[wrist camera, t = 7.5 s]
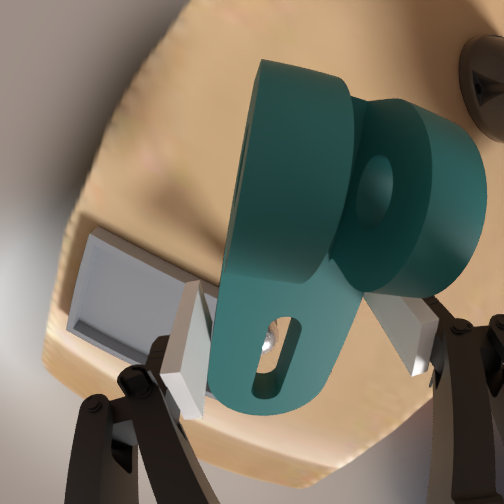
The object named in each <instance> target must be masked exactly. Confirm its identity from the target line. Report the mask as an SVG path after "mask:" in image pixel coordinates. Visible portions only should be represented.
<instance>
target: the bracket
mask: <svg viewBox="0 0 504 504" xmlns="http://www.w3.org/2000/svg"><path fill="white" fill-rule="evenodd" d="M486 205H487V183H486V175H485V169H484V165H483V161H482V158H481V156H480V153H479V151H478V148H477V146H476V144H475V143H474V141H473V140H472V138H471V137H470V135H469V134H468V133H467V132H466V131H465V130H464V129H463V128H461V127H460V126H459V125H457V124H455V123H453V122H451V121H449V120H447V119H445V118H443V117H441V116H439V115H437V114H435V113H433V112H430V111H428V110H426V109H424V108H421V107H419V106H417V105H415V104H412V103H410V102H407V101H405V100H402V99H384V100H376V101H365V100H362V99H359V98H356V97H353V96H350V93H349V90H348V87H347V85H346V84H345V82H344V81H343V80H342V79H341V78H339V77H336V76H332V75H329V74H325V73H321V72H318V71H314V70H310V69H306V68H302V67H297V66H293V65H289V64H284V63H279V62H274V61H269V60H264V59H261V62H260V65H259V68H258V71H257V75H256V78H255V81H254V86H253V91H252V96H251V101H250V106H249V112H248V117H247V122H246V128H245V133H244V139H243V144H242V150H241V155H240V161H239V167H238V173H237V178H236V184H235V190H234V196H233V202H232V208H231V214H230V220H229V226H228V232H227V239H226V245H225V251H224V258H223V264H222V271H221V277H220V284H219V291H218V298H217V305H216V312H215V319H214V326H213V333H212V340H211V347H210V356H209V366H208V376H207V380H208V385H209V388H210V390H211V392H212V394H213V395H214V397H215V398H216V399H217V400H218V401H219V402H221V403H222V404H223V405H225V406H226V407H228V408H230V409H232V410H235V411H237V412H241V413H244V414H249V415H259V416H267V415H277V414H282V413H286V412H289V411H292V410H295V409H297V408H299V407H301V406H303V405H305V404H307V403H308V402H310V401H311V400H312V399H313V398H315V397H316V396H317V395H318V394H319V392H320V391H321V390H322V389H323V387H324V385H325V383H326V381H327V379H328V377H329V375H330V373H331V371H332V369H333V366H334V364H335V362H336V360H337V358H338V355H339V353H340V351H341V349H342V346H343V344H344V342H345V339H346V337H347V335H348V332H349V330H350V328H351V325H352V323H353V320H354V318H355V315H356V313H357V310H358V308H359V305H360V303H361V300H362V297H363V295H364V292H367V293H376V294H384V295H393V296H402V297H411V298H427V297H430V296H433V295H436V294H438V293H440V292H441V291H443V290H444V289H446V288H447V287H448V286H449V285H451V284H452V283H453V282H454V281H455V280H456V279H457V277H458V276H459V275H460V274H461V273H462V271H463V270H464V269H465V267H466V266H467V264H468V262H469V261H470V259H471V257H472V255H473V253H474V251H475V249H476V247H477V244H478V241H479V238H480V236H481V232H482V229H483V224H484V220H485V214H486ZM280 317H291V321H290V324H289V327H288V331H287V334H286V337H285V340H284V344H283V347H282V350H281V353H280V356H279V359H278V363H277V366H276V368H275V369H274V370H273V371H271V372H269V373H257V372H256V371H257V367H258V364H259V360H260V356H261V352H262V349H263V345H264V341H265V337H266V334H267V330H268V327H269V325H270V324H271V323H272V322H273V321H274V320H276V319H278V318H280Z"/></svg>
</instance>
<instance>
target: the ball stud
mask: <svg viewBox="0 0 504 504" xmlns="http://www.w3.org/2000/svg"><path fill="white" fill-rule="evenodd" d="M278 338H279V332H278V328H277V326H276V324H275V322H274V321H273V322H272V323H271V324H270V325H269V327H268V330H267V334H266V337H265V341H264V345H263V349H262V352H261V355H265V354H267V353H269V352H270V351H272V350H273V349H274V347H275V346H276V344H277V342H278Z"/></svg>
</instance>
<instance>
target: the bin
mask: <svg viewBox="0 0 504 504" xmlns="http://www.w3.org/2000/svg"><path fill="white" fill-rule="evenodd" d="M197 280H200V282H201V285H202V289H203V292H204V296H205V299H206V302H207V305H208V309H209V312H210V315H211V319H212V322H213V325H212V333H213V326H214V319H215V312H216V305H217V298H218V291H219V287H217V286H215V285H213V284H210V283H208V282H206V281H204V280H202V279H200V278H198V277H196V276H194V275H192V274H190V273H188V272H186V271H184V270H182V269H180V268H178V267H176V266H174V265H172V264H170V263H168V262H166V261H164V260H162V259H160V258H158V257H156V256H154V255H152V254H150V253H148V252H147V251H145V250H143V249H141V248H139V247H137V246H135V245H133V244H131V243H129V242H127V241H126V240H124V239H122V238H120V237H118V236H116V235H114V234H112V233H111V232H109V231H107V230H105V229H103V228H101V227H99V226H98V227H97V228H96V229H95V230H93V231H92V232H91V233H90V234H89V237H88V240H87V244H86V247H85V251H84V254H83V258H82V261H81V265H80V269H79V273H78V277H77V281H76V285H75V289H74V293H73V298H72V303H71V307H70V312H69V317H68V322H67V328H66V330H67V331H69V332H71V333H72V334H74V335H76V336H78V337H80V338H81V339H83V340H85V341H87V342H88V343H90V344H92V345H94V346H96V347H98V348H100V349H102V350H103V351H105V352H107V353H109V354H111V355H113V356H115V357H117V358H119V359H121V360H123V361H125V362H127V363H129V364H132V365H136V364H143V365H145V363H146V360H147V357H148V354H149V353H150V352H149V351H150V348H151V345H152V343H153V342H154V341H155V340H156V339H157V337H158V336H164V335H170V334H171V331H172V327H173V324H174V320H175V317H176V313H177V310H178V307H179V303H180V300H181V297H182V293H183V290H184V287H185V283H186V282H191V281H197ZM274 322H275V324H276V326H277V320H274ZM211 340H212V334H211ZM210 347H211V343H210ZM209 356H210V353H209ZM208 366H209V362H208ZM207 376H208V372H207ZM205 396H208V397H210V398H213V399H216V398H215V397H214V395H213V394H212V392H211V390H210V388H209V385H208V380H207V382H206V392H205ZM216 400H217V399H216Z"/></svg>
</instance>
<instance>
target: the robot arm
mask: <svg viewBox="0 0 504 504" xmlns="http://www.w3.org/2000/svg"><path fill="white" fill-rule="evenodd" d="M459 79H460V86H461V91H462V95H463V98H464V101H465V104H466V106H467V109H468V111H469V113H470V115H471V117H472V119H473V120H474V122H475V123H476V125H477V126H478V128H479V129H480V130H481V131H482V132H483V133H484V134H485V135H486V136H487V137H489V138H490V139H492V140H494V141H496V142H500V143H504V37H502V36H498V35H494V34H485V35H481V36H476V37H473V38H472V39H470V40H469V41H468V42H467V43H466V44H465V46H464V48H463V50H462V52H461V56H460V61H459ZM363 297H364V299H365V301H366V302H367V304H368V305H369V307H370V308H371V310H372V312H373V313H374V315H375V316H376V318H377V320H378V321H379V323H380V324H381V326H382V328H383V329H384V331H385V333H386V334H387V336H388V337H389V339H390V341H391V342H392V344H393V346H394V347H395V349H396V351H397V353H398V354H399V356H400V358H401V359H402V361H403V363H404V364H405V366H406V368H407V370H408V371H409V373H410V375H411V377H412V376H415V375H418V374H421V373H423V372H426V371H427V370H428V366H429V362H431V363H432V365H433V366H434V370H433V374H432V377H431V380H430V384H429V387H431V386H432V383H433V437H432V455H431V468H430V478H429V486H428V494H427V501H426V504H504V500H503V498H502V496H501V495H500V494H498V493H497V492H496V487H495V449H494V435H493V425H492V415H491V412H492V414H493V417H494V419H495V422H496V425H497V428H498V431H499V433H500V436H501V439H502V442H503V444H504V364H503V363H504V314H497V315H494V316H492V318H491V319H490V322H489V325H488V326H478V327H473V325H472V324H471V323H470V322H469V321H467V320H465V319H460V318H454V317H453V316H452V314H451V313H450V312H449V311H448V310H447V309H446V308H445V307H444V306H443V305H442V304H441V302H439V300H438V299H437V298H435V296H434V295H433V296H430V297H427V298H411V297H402V296H393V295H384V294H376V293H367V292H364V295H363ZM212 325H213V322H212V319H211V315H210V312H209V309H208V305H207V302H206V299H205V296H204V292H203V289H202V285H201V282H200V280H197V281H191V282H186V283H185V287H184V290H183V293H182V297H181V300H180V303H179V307H178V310H177V313H176V317H175V320H174V324H173V327H172V331H171V334H170V335H164V336H158V337H157V339H156V340H155V341H154V342H153V343H152V345H151V348H150V351H149V352H150V353H149V354H148V357H147V360H146V363H145V365H143V364H136V365H132V366H129V367H127V368H125V369H124V370H123V371H122V372H121V373H120V374H119V376H118V378H117V383H118V385H119V386H120V388H121V390H122V391H123V393H124V394H125V397H122V398H118V399H115V400H111V401H109V400H108V398H107V397H106V396H105V395H103V394H94V395H91V396H89V397H88V398H86V399H85V400H84V401H83V402H82V404H81V407H80V410H79V415H78V420H77V424H76V429H75V434H74V440H73V445H72V450H71V457H70V463H69V469H68V477H67V484H66V492H65V502H64V504H139V500H138V499H139V498H138V445H139V449H140V452H141V455H142V459H143V462H144V465H145V469H146V472H147V475H148V478H149V481H150V484H151V487H152V490H153V493H154V496H155V498H156V501H157V504H220V503H219V501H218V499H217V497H216V495H215V493H214V492H213V490H212V488H211V486H210V484H209V482H208V480H207V478H206V476H205V474H204V472H203V470H202V468H201V466H200V465H199V462H198V460H197V458H196V456H195V454H194V451H193V449H192V447H191V445H190V443H189V440H188V438H187V436H186V434H185V431H184V429H183V427H182V425H181V423H180V422H179V417H180V412H181V414H182V416H183V417H184V419H185V420H188V419H203V413H204V403H205V392H206V382H207V372H208V362H209V353H210V343H211V334H212Z"/></svg>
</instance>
